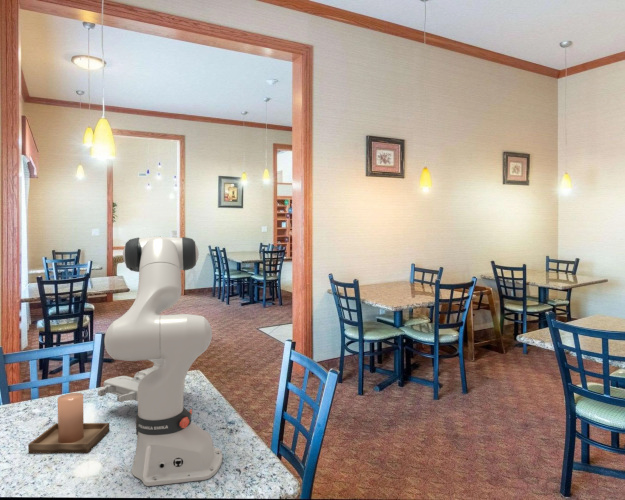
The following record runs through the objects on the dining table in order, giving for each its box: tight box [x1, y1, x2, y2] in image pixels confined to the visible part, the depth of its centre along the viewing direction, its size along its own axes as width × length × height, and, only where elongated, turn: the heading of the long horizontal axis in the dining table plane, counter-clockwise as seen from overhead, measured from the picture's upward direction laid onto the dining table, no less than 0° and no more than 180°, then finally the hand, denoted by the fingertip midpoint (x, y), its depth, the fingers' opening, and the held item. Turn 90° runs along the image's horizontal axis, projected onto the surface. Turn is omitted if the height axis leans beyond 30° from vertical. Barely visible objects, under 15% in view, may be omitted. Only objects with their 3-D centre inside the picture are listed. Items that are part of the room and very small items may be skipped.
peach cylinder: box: [57, 392, 85, 443], centre depth 123 cm, size 6×6×12 cm
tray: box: [27, 422, 110, 454], centre depth 124 cm, size 16×13×2 cm
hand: (108, 396), depth 134 cm, fingers open, 8 cm apart
